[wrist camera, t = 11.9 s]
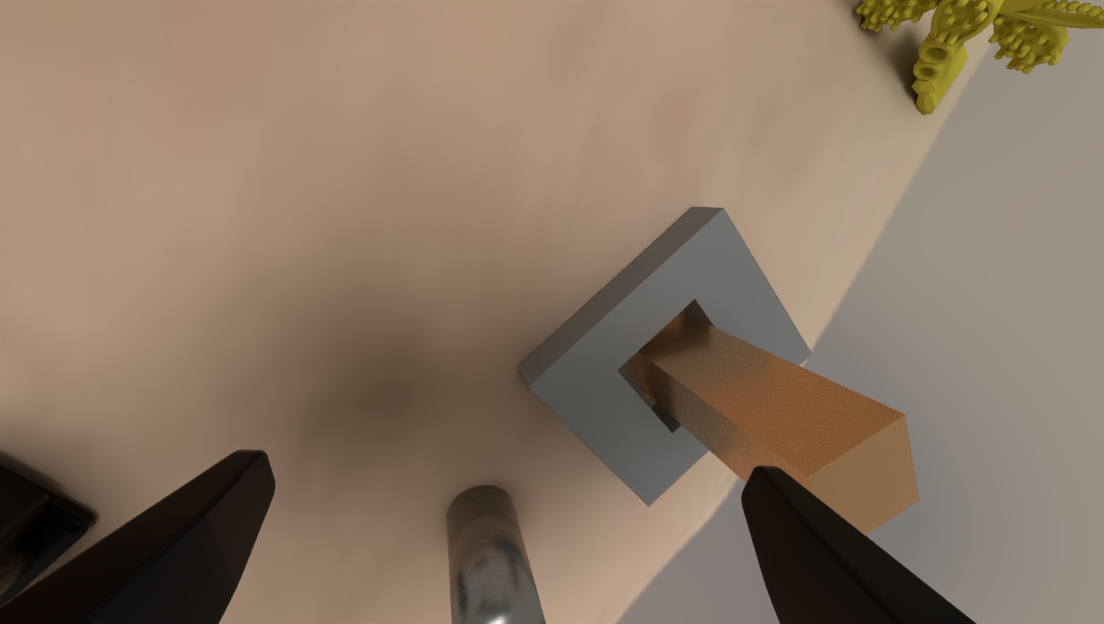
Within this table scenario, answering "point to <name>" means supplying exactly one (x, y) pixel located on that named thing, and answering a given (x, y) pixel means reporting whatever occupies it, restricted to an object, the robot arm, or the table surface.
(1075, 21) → the decorative insect
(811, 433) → the square bit
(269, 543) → the table surface
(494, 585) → the round bit
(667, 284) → the socket plate
